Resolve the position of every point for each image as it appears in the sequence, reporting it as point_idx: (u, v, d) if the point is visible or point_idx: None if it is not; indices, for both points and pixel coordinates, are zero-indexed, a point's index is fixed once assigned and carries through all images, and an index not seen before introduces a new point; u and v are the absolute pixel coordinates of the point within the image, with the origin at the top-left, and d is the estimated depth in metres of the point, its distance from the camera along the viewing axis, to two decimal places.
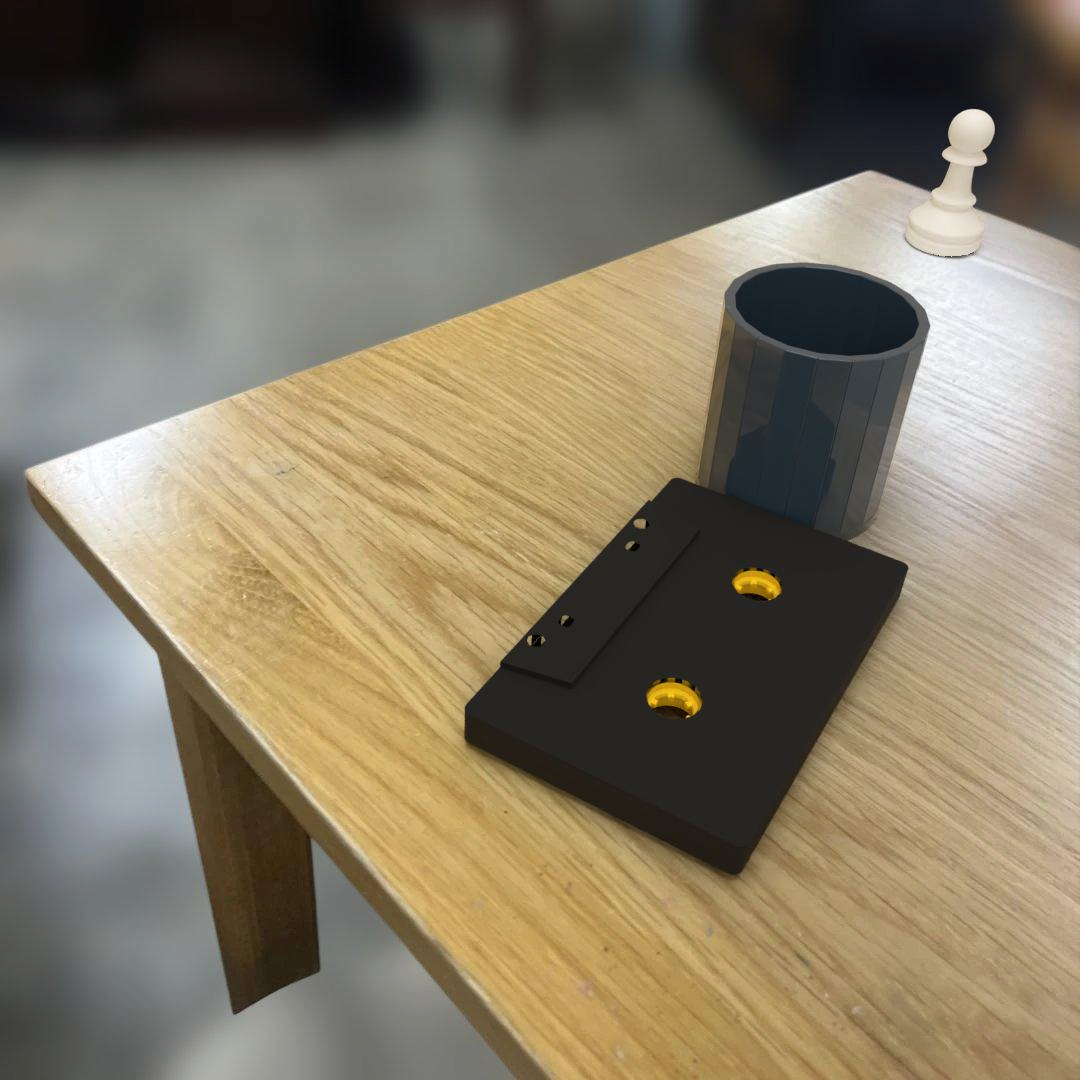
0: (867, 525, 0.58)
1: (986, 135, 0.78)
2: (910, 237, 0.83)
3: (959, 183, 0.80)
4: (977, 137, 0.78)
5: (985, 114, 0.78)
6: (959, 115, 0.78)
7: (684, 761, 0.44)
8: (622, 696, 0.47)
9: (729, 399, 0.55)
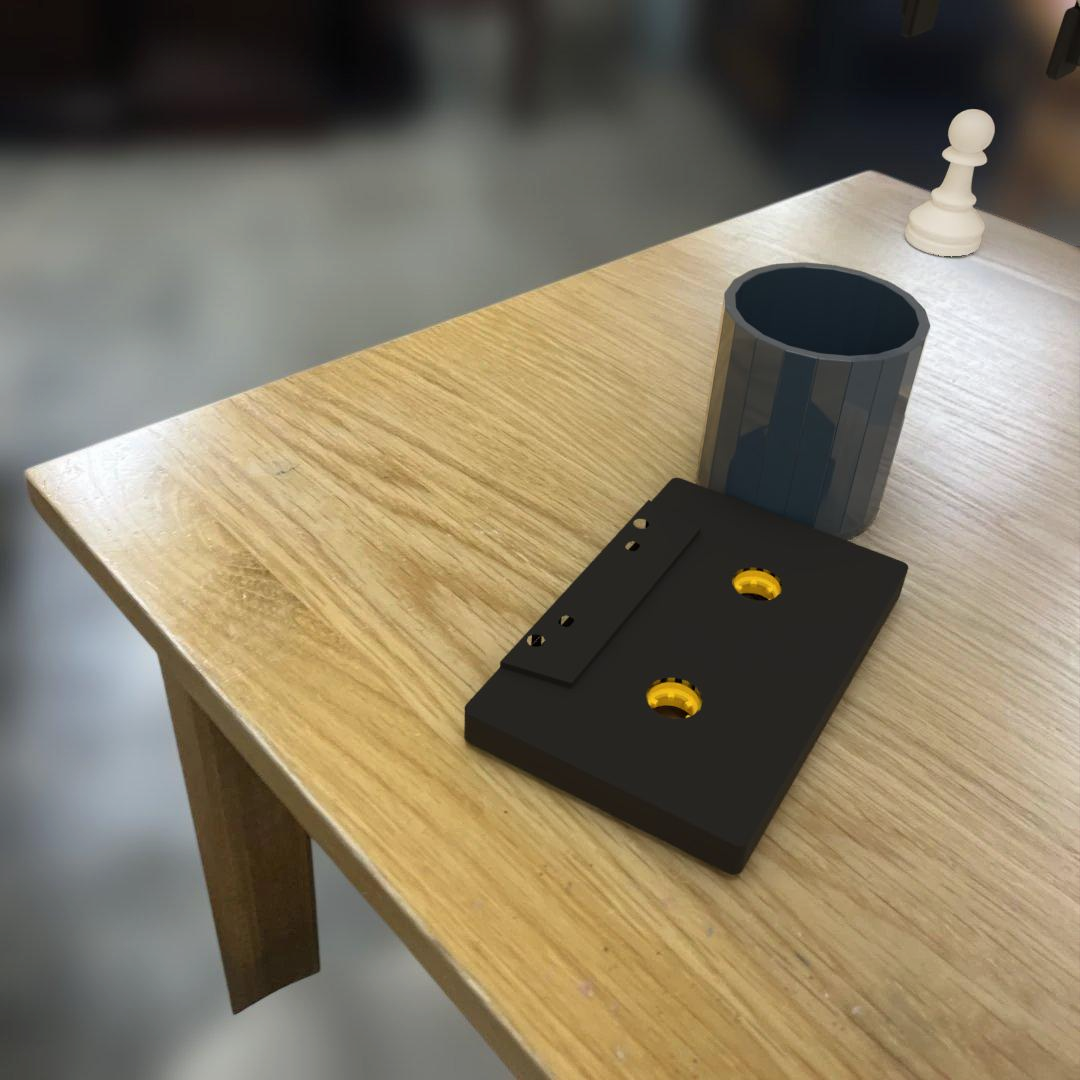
0: (867, 525, 0.58)
1: (986, 135, 0.78)
2: (910, 237, 0.83)
3: (959, 183, 0.80)
4: (977, 137, 0.78)
5: (985, 114, 0.78)
6: (959, 115, 0.78)
7: (684, 761, 0.44)
8: (622, 696, 0.47)
9: (729, 399, 0.55)
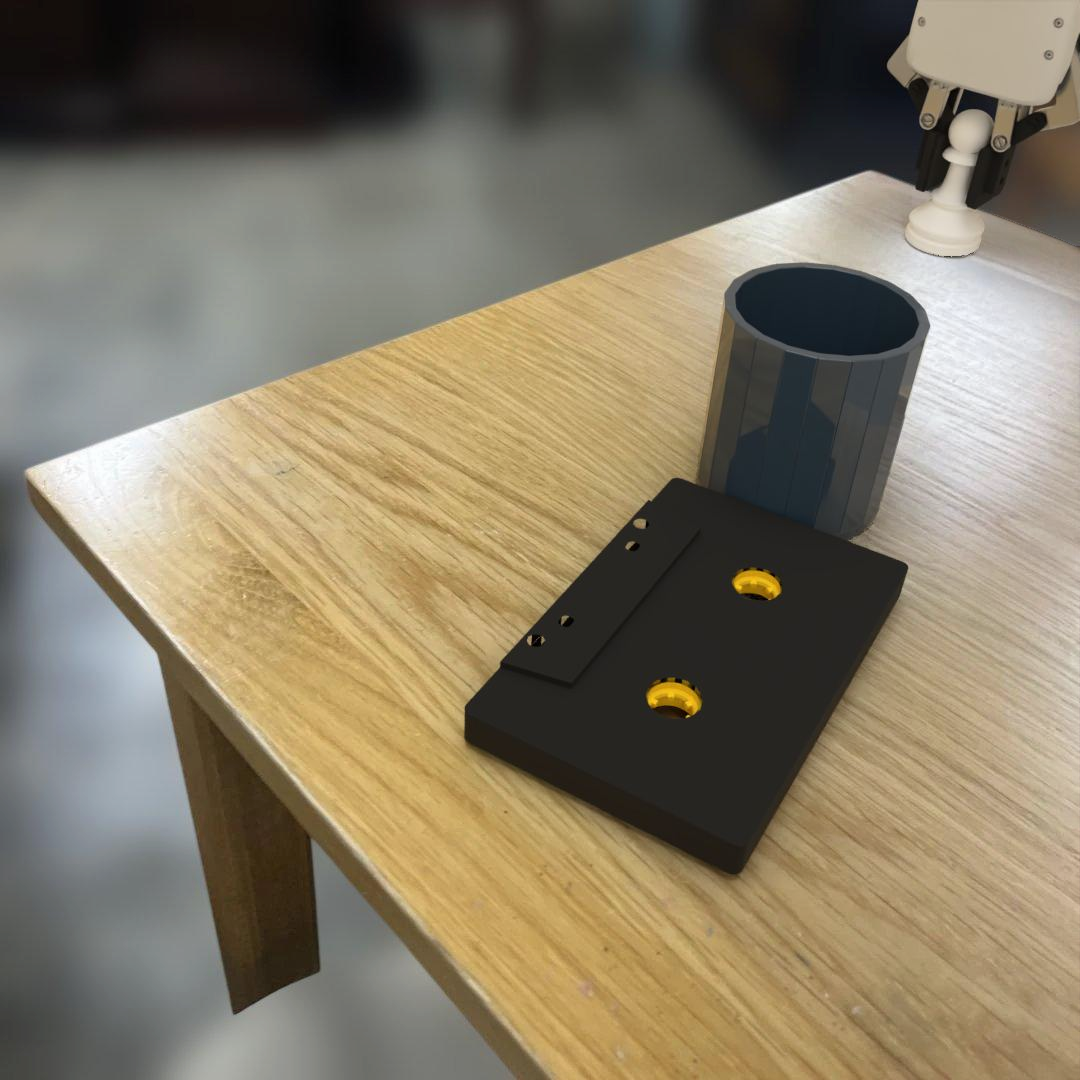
0: (867, 525, 0.58)
1: (986, 135, 0.78)
2: (910, 237, 0.83)
3: (959, 183, 0.80)
4: (977, 137, 0.78)
5: (985, 114, 0.78)
6: (959, 115, 0.78)
7: (684, 761, 0.44)
8: (622, 696, 0.47)
9: (729, 399, 0.55)
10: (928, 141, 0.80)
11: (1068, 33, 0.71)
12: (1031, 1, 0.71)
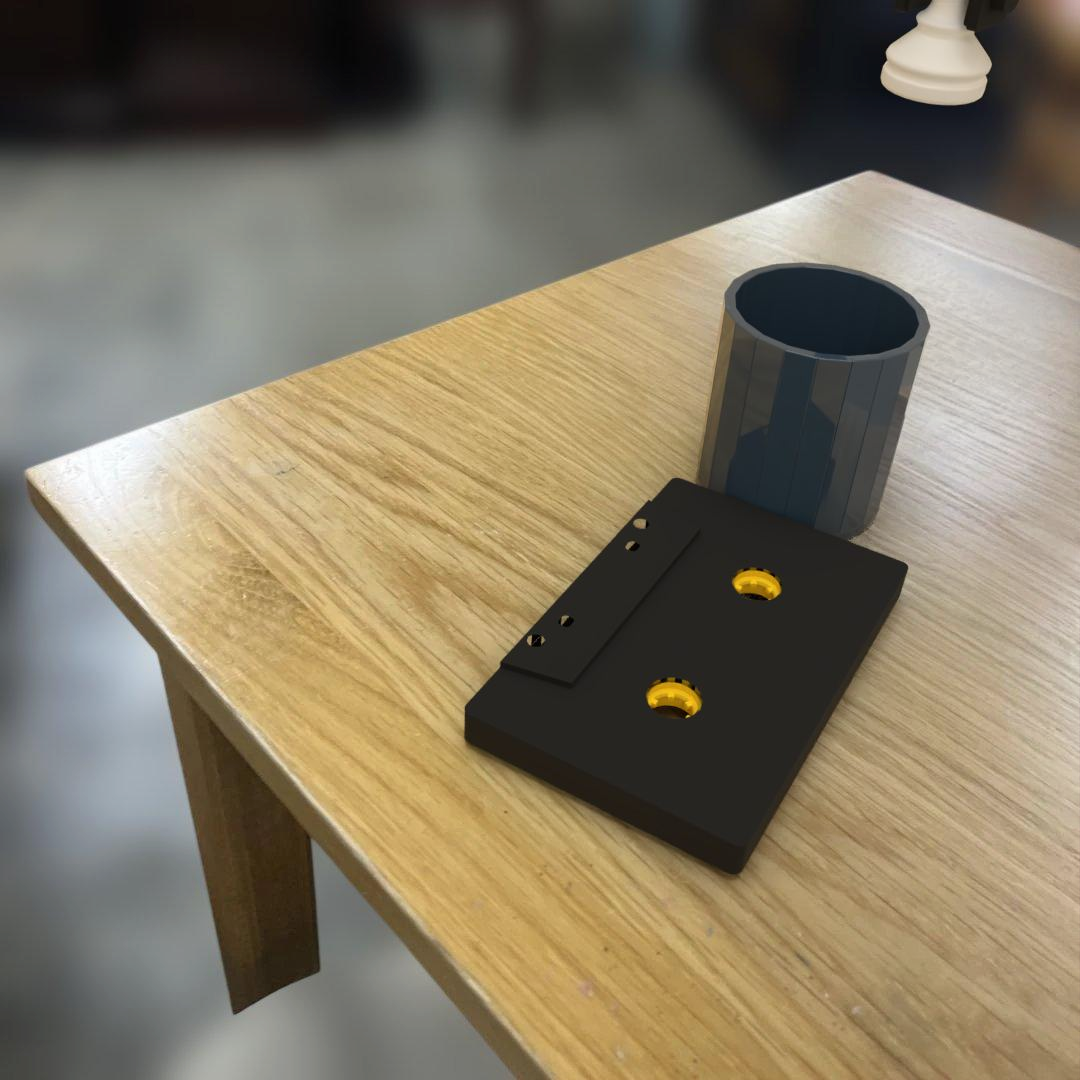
0: (867, 525, 0.58)
1: None
2: (887, 79, 0.60)
3: None
4: None
5: None
6: None
7: (684, 761, 0.44)
8: (622, 696, 0.47)
9: (729, 399, 0.55)
10: None
11: None
12: None
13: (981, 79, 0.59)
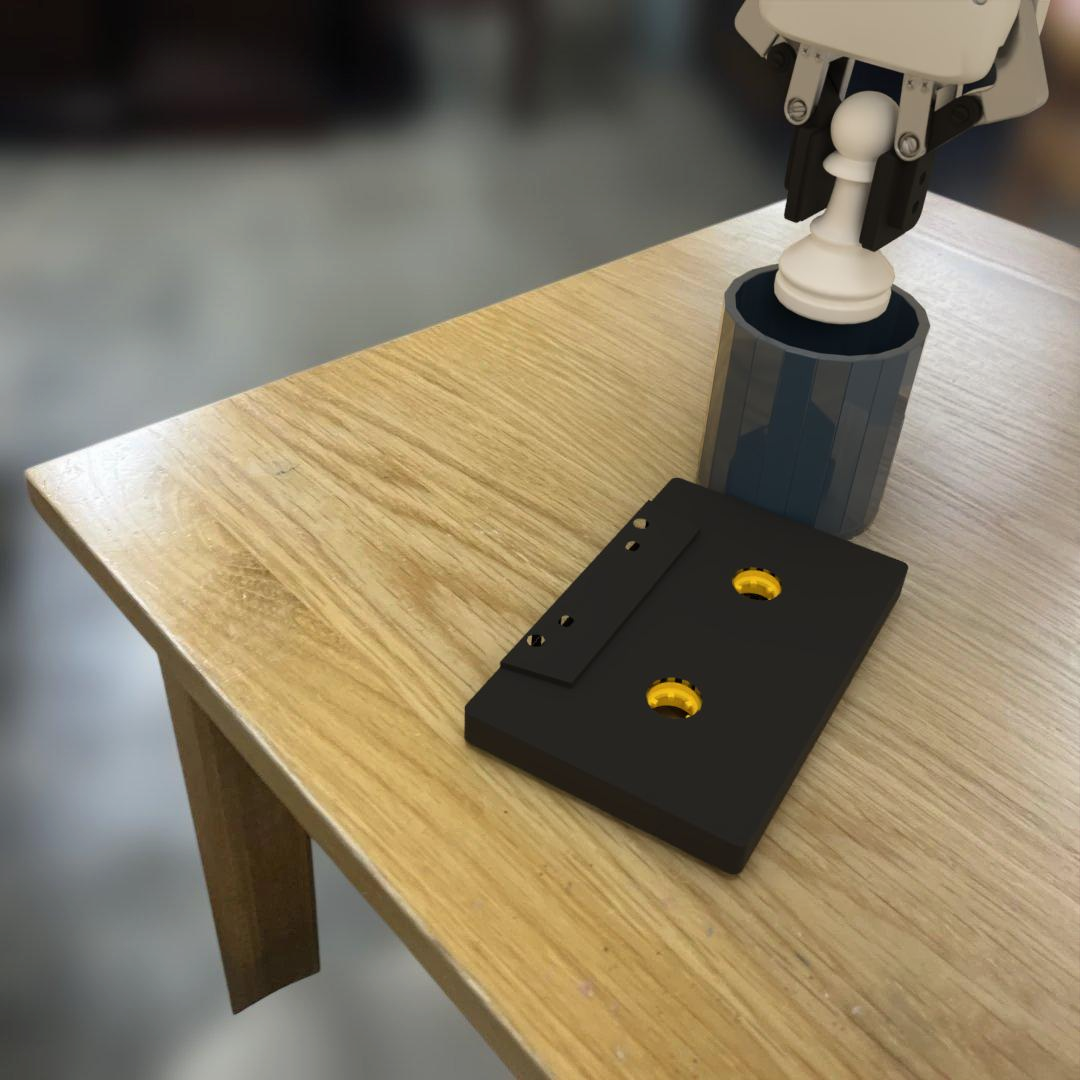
0: (867, 525, 0.58)
1: (888, 133, 0.48)
2: (779, 292, 0.53)
3: (850, 209, 0.51)
4: (873, 137, 0.48)
5: (887, 99, 0.48)
6: (846, 101, 0.49)
7: (684, 761, 0.44)
8: (622, 696, 0.47)
9: (729, 399, 0.55)
10: (799, 143, 0.50)
11: None
12: None
13: (883, 294, 0.52)
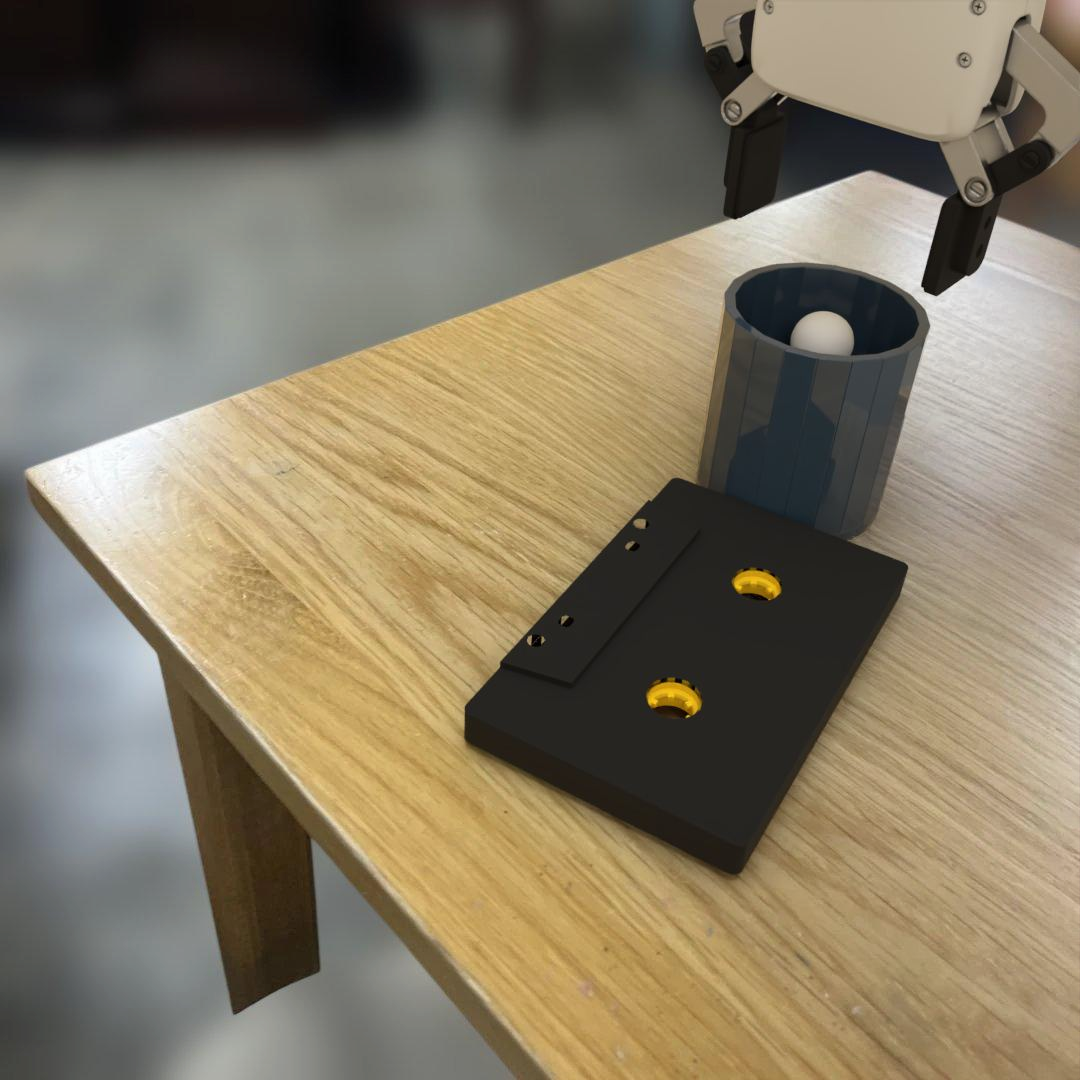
0: (867, 525, 0.58)
1: (840, 351, 0.54)
2: None
3: None
4: None
5: (839, 321, 0.55)
6: (803, 321, 0.55)
7: (684, 761, 0.44)
8: (622, 696, 0.47)
9: (729, 399, 0.55)
10: (735, 143, 0.52)
11: (995, 24, 0.42)
12: None
13: None
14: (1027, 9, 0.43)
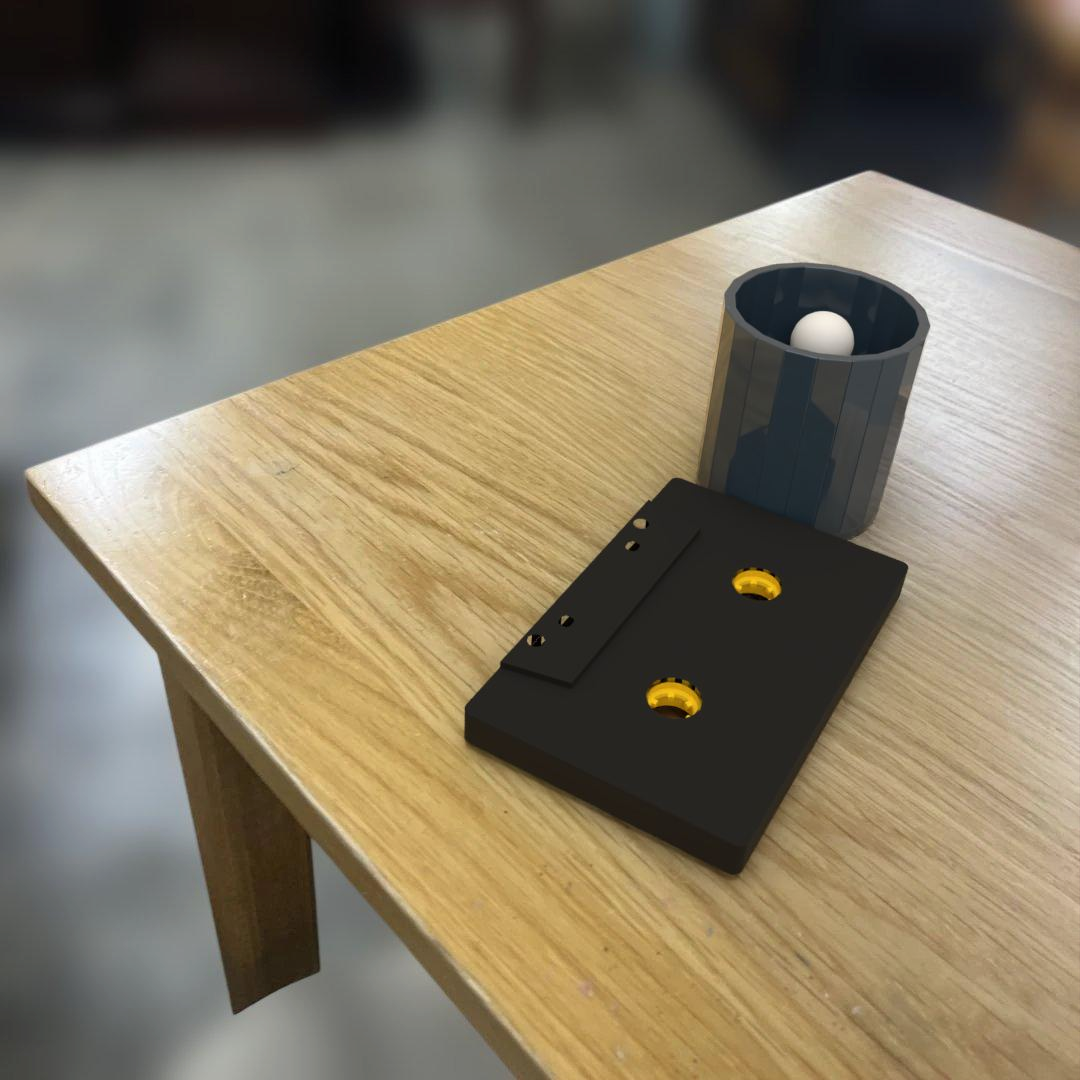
0: (867, 525, 0.58)
1: (840, 351, 0.54)
2: None
3: None
4: None
5: (839, 321, 0.55)
6: (803, 321, 0.55)
7: (684, 761, 0.44)
8: (622, 696, 0.47)
9: (729, 399, 0.55)
10: None
11: None
12: None
13: None
14: None
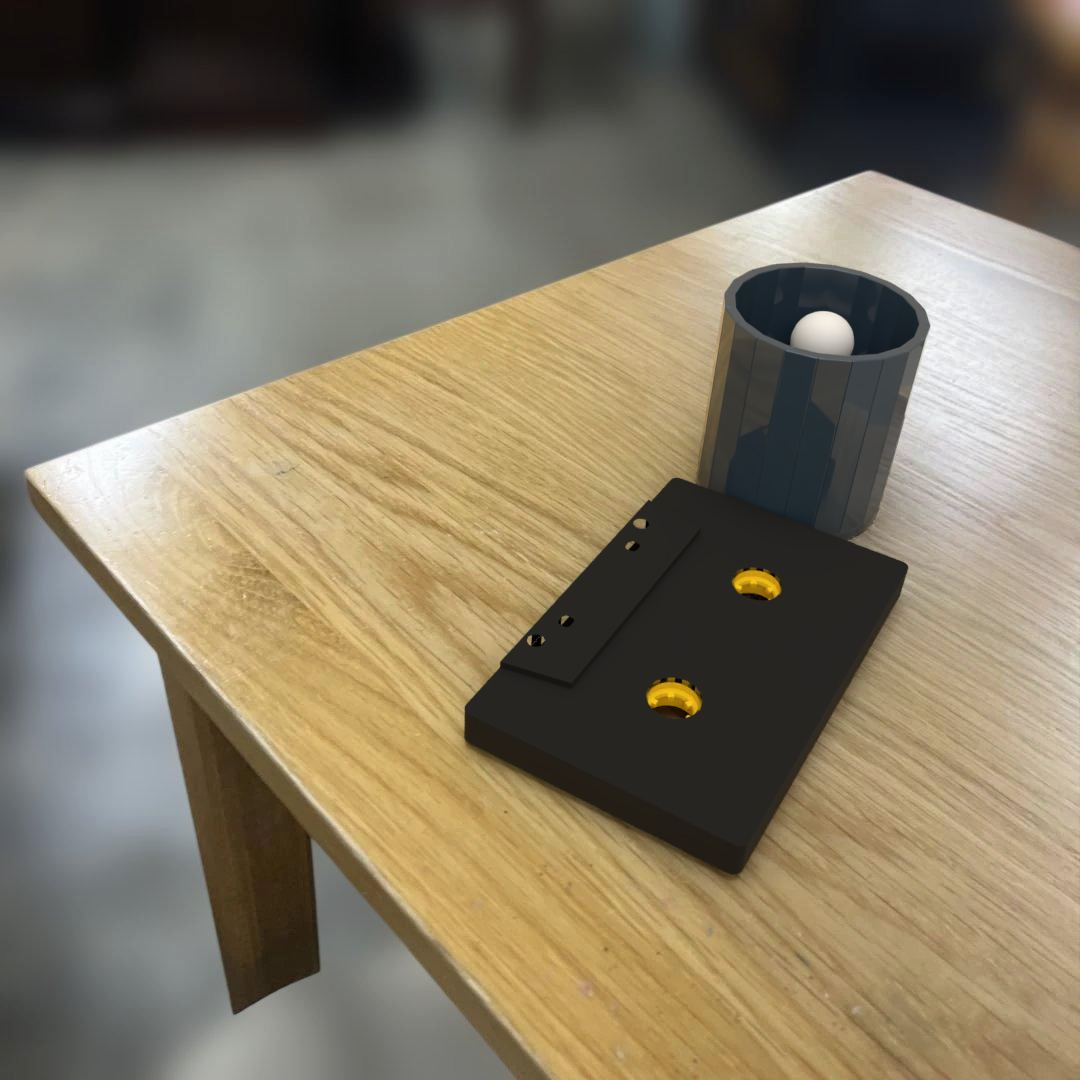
0: (867, 525, 0.58)
1: (840, 351, 0.54)
2: None
3: None
4: None
5: (839, 321, 0.55)
6: (803, 321, 0.55)
7: (684, 761, 0.44)
8: (622, 696, 0.47)
9: (729, 399, 0.55)
10: None
11: None
12: None
13: None
14: None
